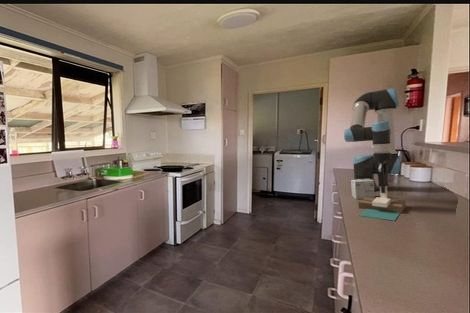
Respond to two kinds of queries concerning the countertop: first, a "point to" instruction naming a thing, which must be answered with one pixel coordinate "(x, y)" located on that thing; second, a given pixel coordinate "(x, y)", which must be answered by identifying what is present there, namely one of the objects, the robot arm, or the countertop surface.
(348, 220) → the countertop surface
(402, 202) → the brown flat wooden board
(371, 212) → the mat
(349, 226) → the countertop surface
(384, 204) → the cream rectangular block
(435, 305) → the countertop surface
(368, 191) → the light bulb box
